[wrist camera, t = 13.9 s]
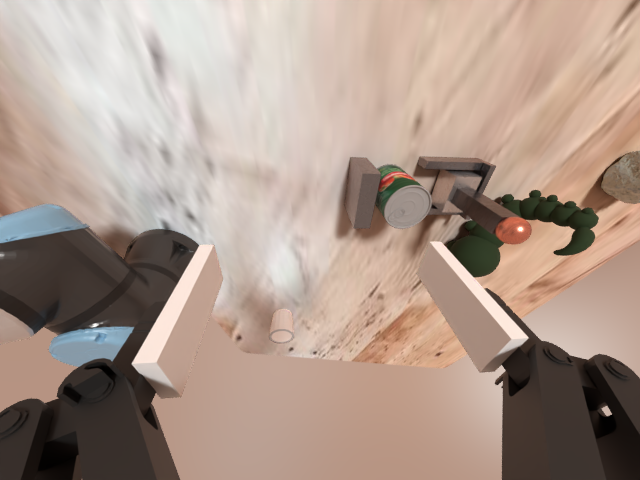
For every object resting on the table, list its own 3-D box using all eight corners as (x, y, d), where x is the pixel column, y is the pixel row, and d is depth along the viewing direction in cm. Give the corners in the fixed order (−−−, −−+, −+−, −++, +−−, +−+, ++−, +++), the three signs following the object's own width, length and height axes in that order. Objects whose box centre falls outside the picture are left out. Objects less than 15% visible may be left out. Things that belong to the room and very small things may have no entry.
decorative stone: (592, 163, 47) (623, 205, 44) (679, 127, 41) (722, 174, 38) (583, 178, 57) (608, 213, 54) (653, 151, 50) (685, 190, 47)
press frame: (455, 208, 51) (482, 229, 43) (344, 207, 48) (353, 230, 41) (477, 158, 44) (514, 173, 37) (350, 154, 42) (363, 170, 34)
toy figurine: (503, 173, 49) (420, 256, 58) (612, 206, 33) (474, 315, 41) (523, 194, 52) (442, 270, 61) (630, 234, 36) (499, 328, 45)
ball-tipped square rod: (450, 201, 49) (525, 258, 33) (429, 200, 49) (494, 258, 33) (464, 168, 45) (557, 215, 29) (441, 167, 44) (522, 215, 29)
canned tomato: (394, 155, 43) (421, 175, 34) (411, 186, 47) (439, 211, 38) (359, 180, 45) (375, 205, 36) (377, 208, 49) (396, 236, 40)
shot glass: (286, 304, 64) (285, 326, 59) (298, 316, 68) (299, 338, 62) (266, 313, 66) (263, 335, 60) (279, 324, 69) (278, 346, 64)
